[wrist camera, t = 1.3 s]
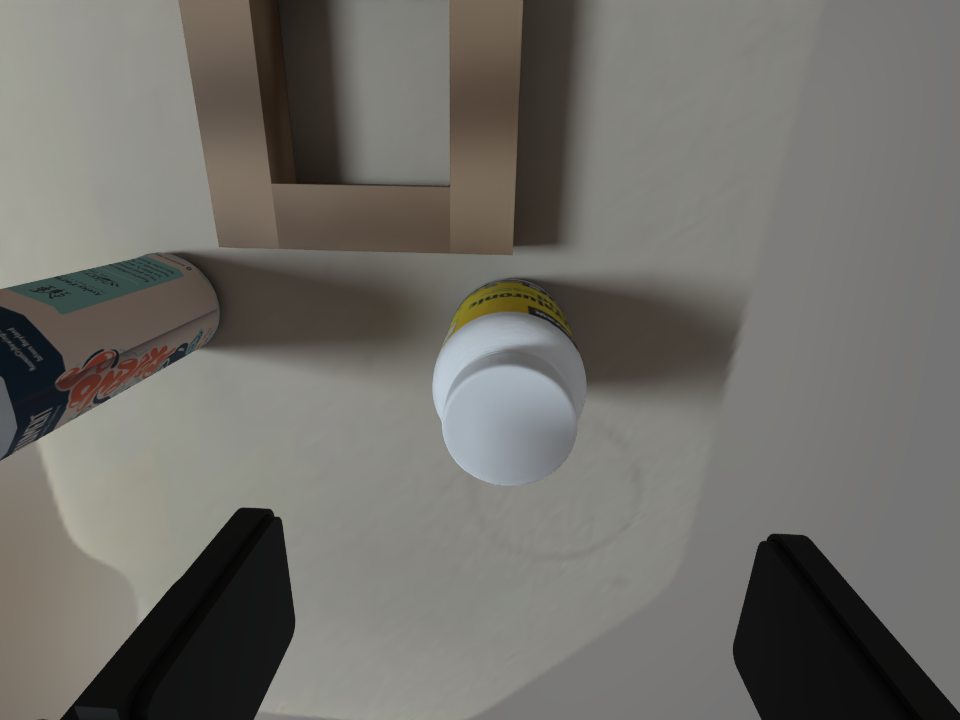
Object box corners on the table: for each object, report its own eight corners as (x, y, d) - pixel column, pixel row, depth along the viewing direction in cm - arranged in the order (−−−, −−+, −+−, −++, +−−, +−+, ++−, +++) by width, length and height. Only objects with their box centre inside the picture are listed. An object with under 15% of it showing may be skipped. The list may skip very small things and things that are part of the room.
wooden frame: (201, -91, 18) (157, -129, 16) (525, -91, 18) (528, -131, 16) (248, 239, 23) (219, 247, 20) (511, 246, 22) (512, 254, 20)
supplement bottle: (582, 293, 23) (633, 374, 14) (544, 396, 25) (567, 527, 15) (468, 260, 22) (442, 320, 13) (439, 367, 24) (399, 483, 15)
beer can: (154, 356, 25) (-134, 505, 14) (109, 263, 23) (-259, 346, 12) (241, 337, 24) (13, 476, 13) (201, 240, 23) (-98, 304, 12)
